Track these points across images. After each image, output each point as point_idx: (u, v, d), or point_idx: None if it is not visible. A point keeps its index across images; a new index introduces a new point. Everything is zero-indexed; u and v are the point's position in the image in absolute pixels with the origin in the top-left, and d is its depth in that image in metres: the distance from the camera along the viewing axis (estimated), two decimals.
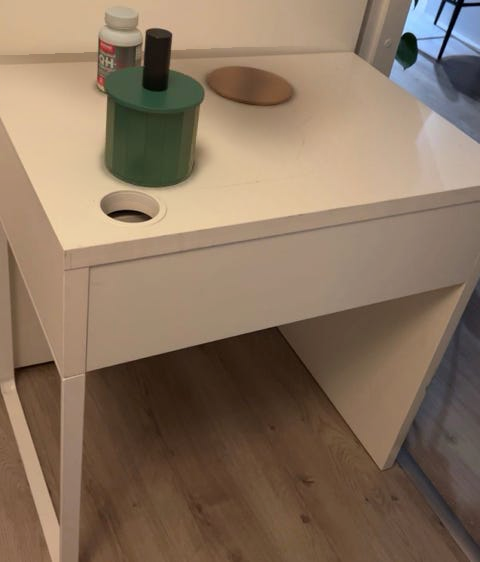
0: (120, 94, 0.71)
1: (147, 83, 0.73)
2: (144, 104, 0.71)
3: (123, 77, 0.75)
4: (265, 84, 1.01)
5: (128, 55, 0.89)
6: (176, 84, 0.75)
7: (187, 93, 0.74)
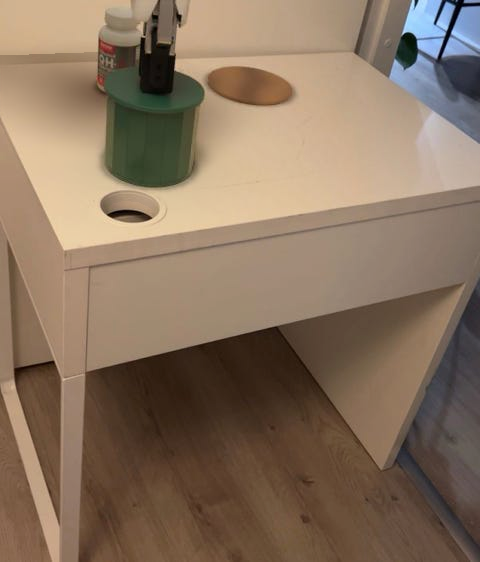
0: (120, 94, 0.71)
1: None
2: (144, 104, 0.71)
3: (123, 77, 0.75)
4: (265, 84, 1.01)
5: (128, 55, 0.89)
6: (176, 84, 0.75)
7: (187, 93, 0.74)
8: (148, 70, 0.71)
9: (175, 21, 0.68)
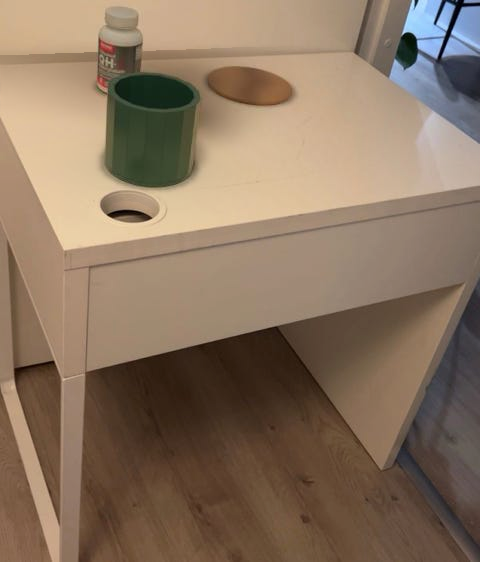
0: None
1: None
2: None
3: None
4: (265, 84, 1.01)
5: (128, 55, 0.89)
6: None
7: None
8: None
9: None
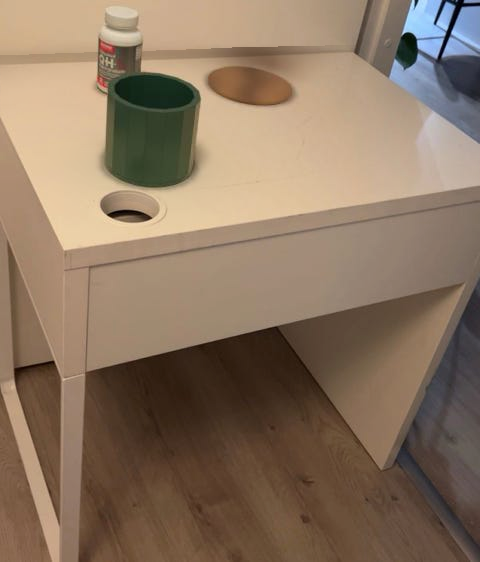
0: None
1: None
2: None
3: None
4: (265, 84, 1.01)
5: (128, 55, 0.89)
6: None
7: None
8: None
9: None
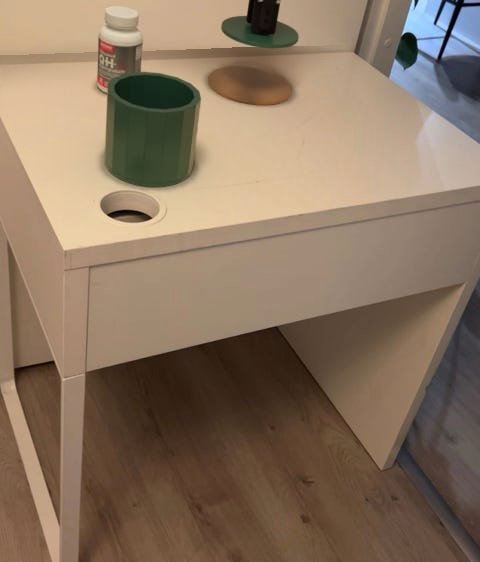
0: (236, 34, 0.93)
1: None
2: (256, 41, 0.92)
3: (235, 22, 0.96)
4: (265, 84, 1.01)
5: (128, 55, 0.89)
6: None
7: (285, 34, 0.95)
8: (258, 15, 0.93)
9: None
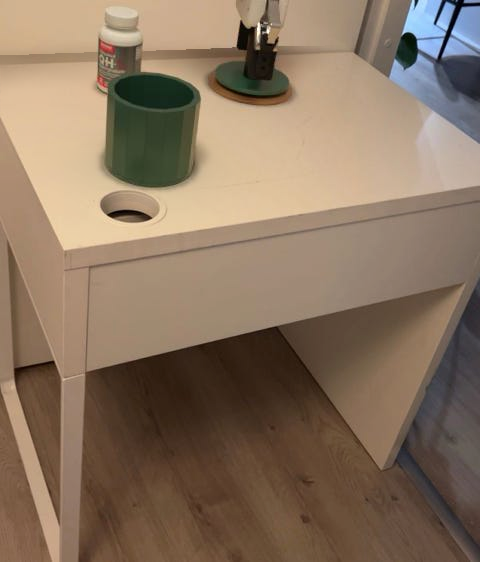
0: (229, 81, 0.97)
1: None
2: (248, 88, 0.96)
3: (228, 68, 1.00)
4: None
5: (128, 55, 0.89)
6: None
7: (276, 81, 0.99)
8: (255, 62, 0.93)
9: None
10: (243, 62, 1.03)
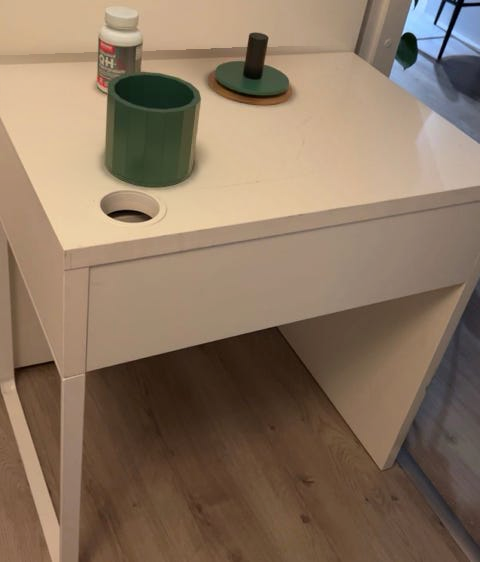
0: (229, 81, 0.97)
1: (248, 73, 0.98)
2: (248, 88, 0.96)
3: (228, 68, 1.00)
4: None
5: (128, 55, 0.89)
6: (267, 74, 1.01)
7: (276, 81, 0.99)
8: None
9: None
10: (243, 62, 1.03)
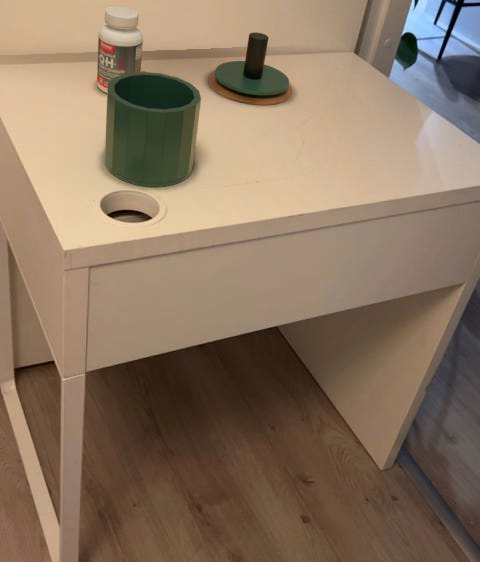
0: (229, 81, 0.97)
1: (248, 73, 0.98)
2: (248, 88, 0.96)
3: (228, 68, 1.00)
4: None
5: (128, 55, 0.89)
6: (267, 74, 1.01)
7: (276, 81, 0.99)
8: None
9: None
10: (243, 62, 1.03)
